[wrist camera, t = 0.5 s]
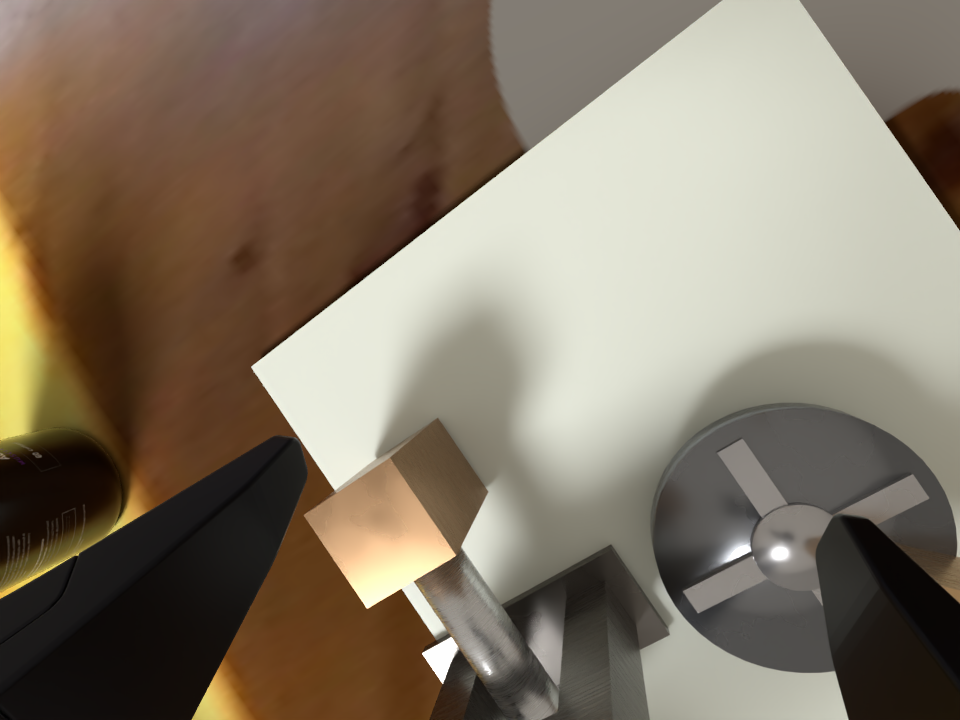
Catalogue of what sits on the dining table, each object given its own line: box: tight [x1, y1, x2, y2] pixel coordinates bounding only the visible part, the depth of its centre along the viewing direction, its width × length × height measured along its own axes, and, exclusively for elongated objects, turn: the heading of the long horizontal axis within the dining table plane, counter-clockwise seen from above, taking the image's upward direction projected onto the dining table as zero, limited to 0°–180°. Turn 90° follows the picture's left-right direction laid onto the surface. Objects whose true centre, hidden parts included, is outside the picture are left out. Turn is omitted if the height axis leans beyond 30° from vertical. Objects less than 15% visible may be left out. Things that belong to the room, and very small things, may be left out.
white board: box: [251, 0, 960, 720], centre depth 22 cm, size 30×27×2 cm
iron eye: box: [422, 545, 670, 720], centre depth 21 cm, size 4×10×8 cm, turn 125°
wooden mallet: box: [304, 418, 559, 720], centre depth 22 cm, size 15×4×6 cm, turn 35°
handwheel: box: [650, 403, 960, 673], centre depth 18 cm, size 16×16×4 cm
